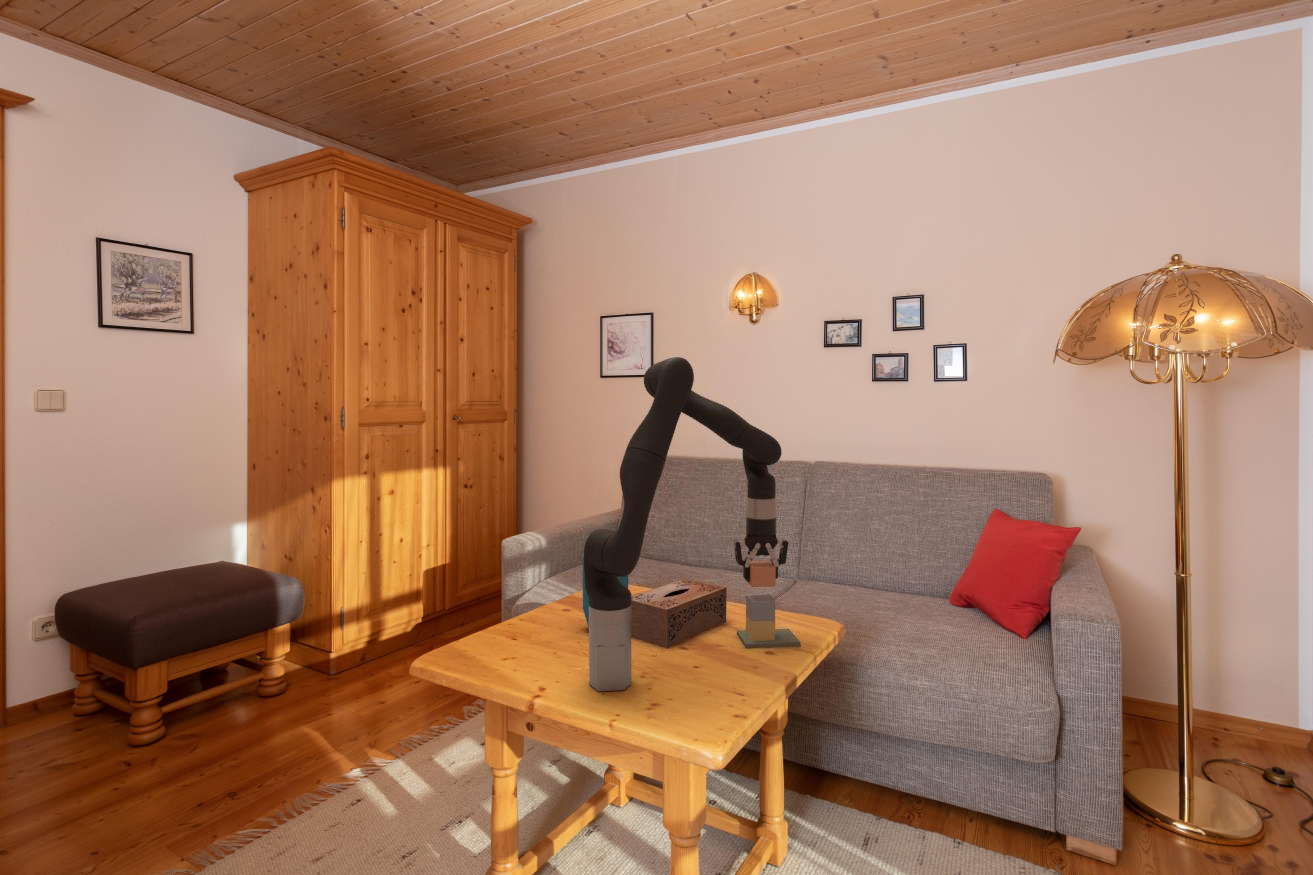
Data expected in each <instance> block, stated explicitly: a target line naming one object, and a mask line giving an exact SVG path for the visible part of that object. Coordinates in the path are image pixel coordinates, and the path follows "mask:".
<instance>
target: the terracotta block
mask: <svg viewBox="0 0 1313 875" xmlns="http://www.w3.org/2000/svg"><path fill="white" fill-rule="evenodd" d="M749 567H750V582H747V581H746V580H745V582H746V583H747V584H748V585H749V586H750V587H751V588H770V587H773V588H775V587H776V580H777V579H776V567H775V566H774V565H773V564H772V562H771V561H769V560H765V561H764V560H763V561H761V560H760V561H756V560H755V561H752V562H751V564H750V566H749Z"/></svg>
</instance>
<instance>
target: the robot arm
mask: <svg viewBox="0 0 1313 875" xmlns="http://www.w3.org/2000/svg"><path fill="white" fill-rule="evenodd" d="M694 381H695V373H694V368H693V367H692V365H691V363H690V362H689V361H688V360H687V359H686V358H684V357H681V356H675V357H669V358H666V359H663V360H661V361H659V362H655V363H654V364H652V365H651V366H649V367H648V369H646V371H645V373H644V375H643V385H644V388H645V390H646V392H647V393H648V394H649V395H650V396H651V397H652V398H653V401H652V404H651V406H650V409H649V410H648V412H647V414H646V415H645V417H644V418H643V420H642V421H641V423H640V424H639V425H638V427H637V428H636V430H635V432H634V433H633V435H632V436H631V437H630V439H629V442H628V444H627V446H626V449H625V452H624V454H623V458H622V460H621V464H620V467H619V482H620V488H621V492H622V498H623V511H622V516H621V520H620V522H619V525H618V528H617V531H616V530H613V529H604V528H602V529H601V528H598V529H595V530H594V531H592V532H591V533H590V534H589V535H588V537H587V539H586V540H585V544H584V548H583V554H584V578H585V590H586V593H587V596H588V599H589V628H588V679H589V681H588V683H589V686H590V687H591V688H593V689H595V690H596V692H612V691H614V692H615V691H626V690H627V689H626V688H628V687H629V686H630V685H632V682H633V681H632V672H633V671H632V667H633V666H632V637H631V617H632V614H631V604H632V598H631V596H632V592H631V590H630V589H629V587H628V588H627V587H625V586H624V585H623V584H622V583H621V582H620V580H619V579H618V577H617V576H619V577H625V576H627V575H628V576H630V574H631V573H633V571H634V570H635V569H636V567H637V564H638V562H639V560H640V555H641V552H642V548H643V543H644V538H645V534H646V529H647V526H648V525H647V524H648V520H649V516H650V512H651V509H652V504H653V503H654V502H653V501H654V498H655V494H656V491H657V488H658V485H659V482H660V481H661V478H662V473H663V470H664V467H665V464H666V462H667V461H666V460H667V457H668V453H669V450H670V448H671V444H672V441H673V438H674V435H675V431H676V428H677V425H678V422H679V419H680V416H681V415H682V414H684V415H685V416H688V417H689V418H691V419H692V420H695V421H696V422H697V423H699V424H701V425H702V426H704V427H706V429H709V430H710V431H711V432H713V433H714V434H715V435H716V436H718V437H720V439H722V440H723V441H725V442H726V443H727V444H729V445H730V446H732V447H735V448H738V449H741V450H742V452H741V453H742V461H743V467H744V471H745V475H746V480H747V496H746V497H747V500H746V506H745V507H746V508H745V509H746V510H745V518H746V519H745V520H746V521H745V537H744V539H741V540H736V539H734V541H733V548H734V549H733V550H734V557H735V563H737V565H739V566H742V577H743V579H744V580H745V582H746V581H747V582H750V567H749V566H750V564H751V562H753V561H754V559H755V556H756V557H759V556H765V557H768V558H769V560H770V563H772V564H773V565H774V566H775V567H776V580H777V579H778V578H779V566H781V565H785V564H786V563H787V558H788V550H789V541H788V540H786V539H785V538H783V539H778V537H777V502H776V488H777V487H776V486H777V485H776V484H777V482H776V478H775V476H773V475H772V474H771V473H770V471H769V469H768V466H772V465H774V464H776V463H778V462H779V460H780V459H781V457H782V454H783V453H782V447H781V445H780V443H779V442H778V440H777V439H776V438H774V436H773V435H770V434H768V432H765V431H764V430H762V429H760V428H758V427H756V426H754V425H752V424H750V423H749V422H748V421H747V420H746V419H744V418H743V417H742V416H741V415H739V414H738V413H737V412H735V411H734V410H733V409H731V408H730V407H727V406H725V405H724V404H721V403H719V402H717V401H714V400H712V399H709V398H707V397H704V396H703V395H701V394H698V393H697V392H695V391H693V390H692V389H693V386H694ZM777 545H778V547H779V553H778V558H777V557H776V554H775V551H774V549H775V548H776V546H777ZM744 546H746V547H747V551H746V554H745V556H744V559H743V555H742V550H743V549H744ZM747 582H746V583H747Z"/></svg>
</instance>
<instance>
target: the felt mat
mask: <svg viewBox="0 0 1313 875" xmlns="http://www.w3.org/2000/svg"><path fill="white" fill-rule="evenodd" d="M736 635H737V638H739V640H740V642H741V643H742V645H743V646H744V648H745V649H759V648H762V649H763V648H785V647H786V648H787V647H801V646H802V645H801V643H802V642H801V641H800V640H799V638H798V637H797V636H796V635H795V634H794V632H792V631H791V629H790V628H775V640H766V641H751V639H750V638H749V637H748V635H747V634H746V629H742V630H741V629H740V630H739V629H738V630H736Z"/></svg>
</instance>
